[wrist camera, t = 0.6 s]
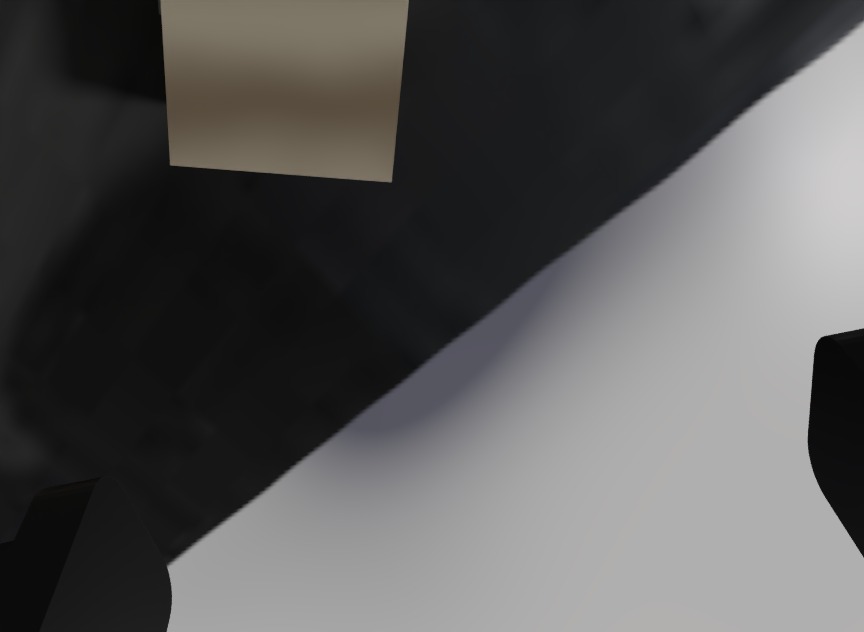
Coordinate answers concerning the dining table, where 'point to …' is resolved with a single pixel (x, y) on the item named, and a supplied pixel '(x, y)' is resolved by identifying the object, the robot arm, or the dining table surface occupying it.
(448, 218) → the dining table surface
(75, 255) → the dining table surface
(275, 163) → the cardboard box
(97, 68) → the dining table surface
